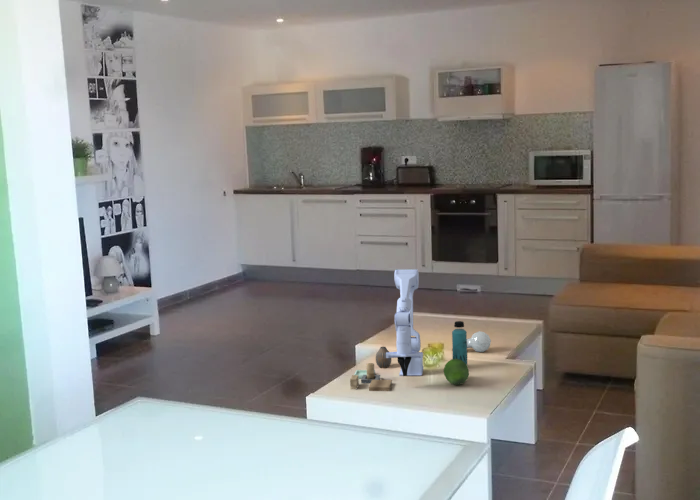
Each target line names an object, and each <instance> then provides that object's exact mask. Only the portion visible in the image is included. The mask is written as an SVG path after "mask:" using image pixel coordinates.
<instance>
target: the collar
mask: <svg viewBox="0 0 700 500" xmlns="http://www.w3.org/2000/svg"><path fill="white" fill-rule="evenodd" d="M372 380H381V374H375V379H367V375H363V377H362V379H360V383H361V384H371V381H372Z"/></svg>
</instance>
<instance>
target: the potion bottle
mask: <svg viewBox="0 0 700 500" xmlns="http://www.w3.org/2000/svg"><path fill="white" fill-rule="evenodd" d="M491 342H492V339H491V337H490V336H489V334H488V333H487V332H484V331H481V330H480V331H476V332H475V333H473V334H472V335H471V337H470V338H468V337H467V349H473V350H474V351H475V352H477V353H481V352H482V353H483V352H486V351H488V350H489V348H490V347H491Z"/></svg>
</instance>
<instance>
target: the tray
mask: <svg viewBox="0 0 700 500" xmlns="http://www.w3.org/2000/svg"><path fill="white" fill-rule="evenodd" d="M374 374H375V375H376V370H375V369H374ZM353 375H358V380H361V379H362V377H363V375H367V369H356V370H355V372H354V374H353Z"/></svg>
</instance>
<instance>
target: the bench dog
mask: <svg viewBox="0 0 700 500" xmlns="http://www.w3.org/2000/svg"><path fill="white" fill-rule="evenodd" d="M349 383H350V390H357V389H358V387H359V384H360V381H359V379H358V375H354V374H353V375H351V377H350V380H349Z"/></svg>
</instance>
